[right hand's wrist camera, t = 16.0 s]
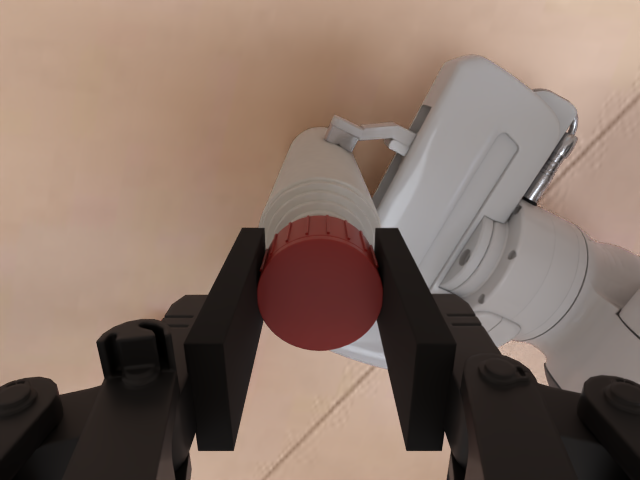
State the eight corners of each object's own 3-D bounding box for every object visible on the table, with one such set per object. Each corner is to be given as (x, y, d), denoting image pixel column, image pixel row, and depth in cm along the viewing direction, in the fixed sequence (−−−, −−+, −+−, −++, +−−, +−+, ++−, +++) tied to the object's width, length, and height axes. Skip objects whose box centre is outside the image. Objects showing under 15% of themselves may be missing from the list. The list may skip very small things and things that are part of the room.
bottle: (281, 184, 33) (227, 341, 14) (294, 120, 31) (252, 195, 12) (343, 198, 33) (376, 369, 14) (359, 135, 32) (423, 232, 12)
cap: (390, 295, 15) (402, 330, 13) (289, 329, 15) (285, 367, 13) (354, 196, 14) (360, 218, 12) (245, 236, 14) (232, 264, 12)
